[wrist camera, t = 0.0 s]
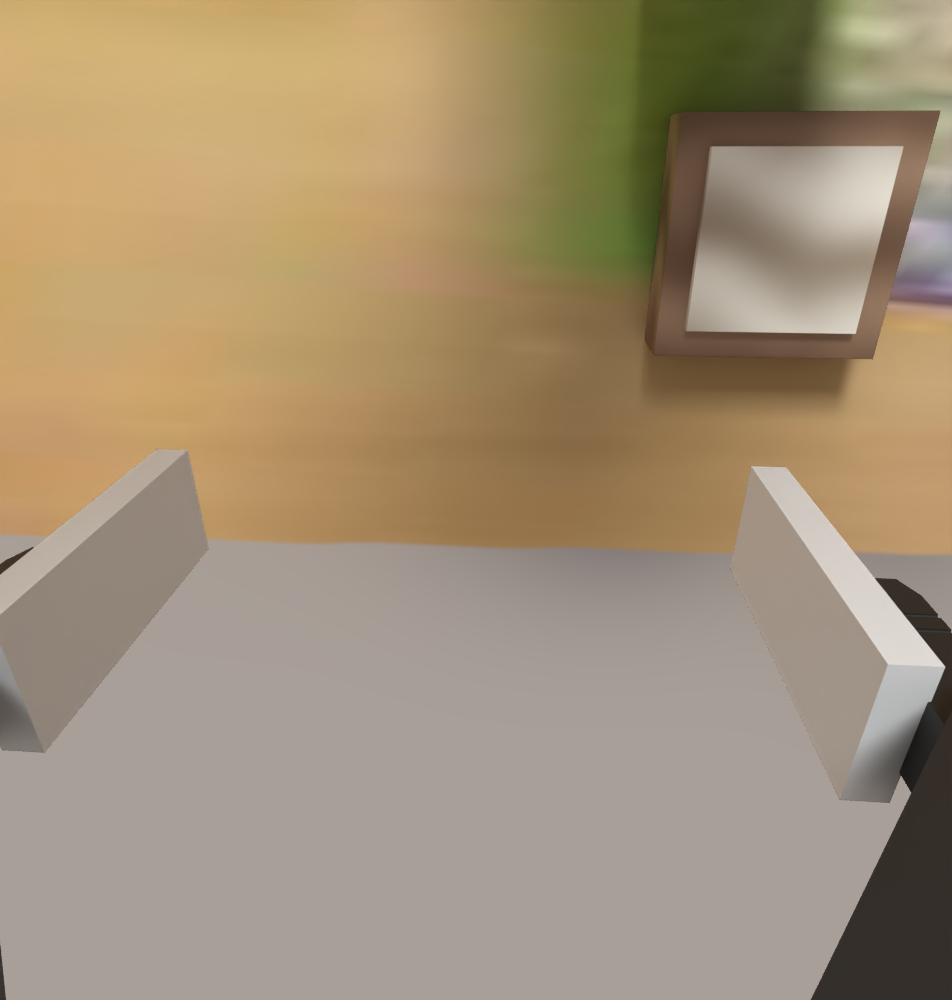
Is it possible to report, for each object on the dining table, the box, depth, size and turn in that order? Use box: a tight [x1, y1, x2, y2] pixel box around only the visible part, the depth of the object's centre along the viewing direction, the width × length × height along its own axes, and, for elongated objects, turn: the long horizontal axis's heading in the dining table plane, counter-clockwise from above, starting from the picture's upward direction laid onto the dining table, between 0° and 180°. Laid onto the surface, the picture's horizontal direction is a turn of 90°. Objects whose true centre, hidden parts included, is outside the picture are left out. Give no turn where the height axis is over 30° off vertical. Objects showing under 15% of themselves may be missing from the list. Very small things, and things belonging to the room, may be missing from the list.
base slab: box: [645, 111, 940, 359], centre depth 37 cm, size 12×12×4 cm
